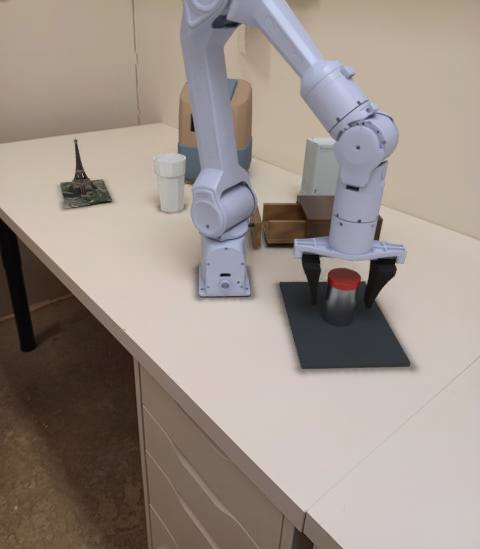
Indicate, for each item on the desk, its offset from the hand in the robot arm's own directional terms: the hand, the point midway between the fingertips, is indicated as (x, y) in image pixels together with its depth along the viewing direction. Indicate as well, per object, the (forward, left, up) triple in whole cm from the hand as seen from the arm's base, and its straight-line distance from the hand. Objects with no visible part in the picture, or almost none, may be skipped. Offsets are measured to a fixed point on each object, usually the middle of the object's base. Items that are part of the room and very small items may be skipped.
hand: (340, 302), depth 67 cm
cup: (+42, +26, -3) cm, 49 cm away
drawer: (+27, +6, -2) cm, 28 cm away
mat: (0, 0, -3) cm, 3 cm away
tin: (0, 0, -2) cm, 2 cm away
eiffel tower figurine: (+50, +46, -3) cm, 68 cm away
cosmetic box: (+43, -7, -3) cm, 44 cm away
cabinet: (+27, -6, -3) cm, 28 cm away
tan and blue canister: (+62, +16, -3) cm, 64 cm away
